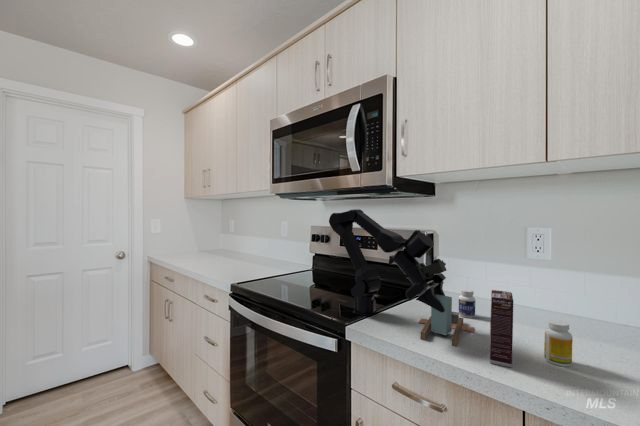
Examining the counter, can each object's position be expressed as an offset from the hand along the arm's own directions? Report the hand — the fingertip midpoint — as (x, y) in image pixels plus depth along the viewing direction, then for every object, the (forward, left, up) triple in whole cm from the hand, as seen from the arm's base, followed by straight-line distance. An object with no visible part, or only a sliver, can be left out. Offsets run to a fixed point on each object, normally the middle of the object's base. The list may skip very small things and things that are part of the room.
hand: (446, 309), depth 91 cm
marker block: (-1, 0, -7) cm, 7 cm away
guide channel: (-1, +4, -8) cm, 9 cm away
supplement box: (+14, -8, -8) cm, 18 cm away
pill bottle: (+4, +23, -8) cm, 24 cm away
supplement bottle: (+26, -3, -8) cm, 27 cm away
